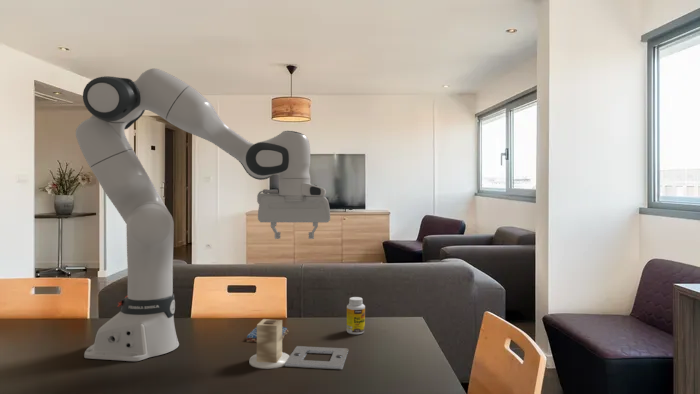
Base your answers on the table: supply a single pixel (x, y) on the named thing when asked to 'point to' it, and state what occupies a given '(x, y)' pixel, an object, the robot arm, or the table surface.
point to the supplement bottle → (355, 316)
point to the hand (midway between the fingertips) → (294, 238)
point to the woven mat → (253, 334)
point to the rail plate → (335, 362)
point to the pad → (268, 365)
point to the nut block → (269, 340)
